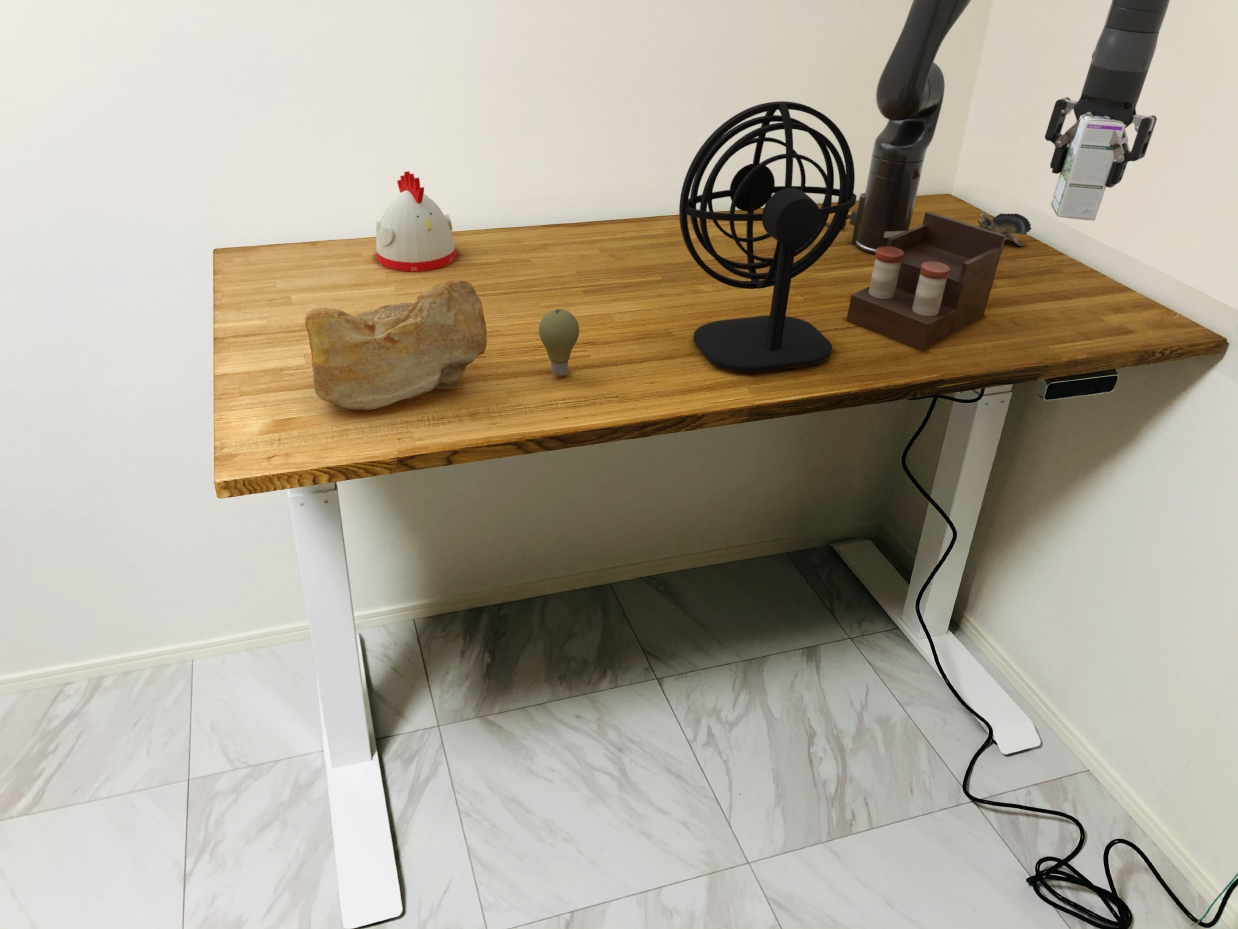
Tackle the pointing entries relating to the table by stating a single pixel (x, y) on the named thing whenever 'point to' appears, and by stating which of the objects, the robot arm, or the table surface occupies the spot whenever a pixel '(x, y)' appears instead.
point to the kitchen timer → (414, 231)
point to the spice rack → (929, 281)
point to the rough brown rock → (396, 347)
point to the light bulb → (559, 338)
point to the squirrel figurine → (1006, 225)
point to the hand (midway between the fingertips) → (1082, 179)
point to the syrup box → (1086, 168)
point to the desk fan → (767, 236)
